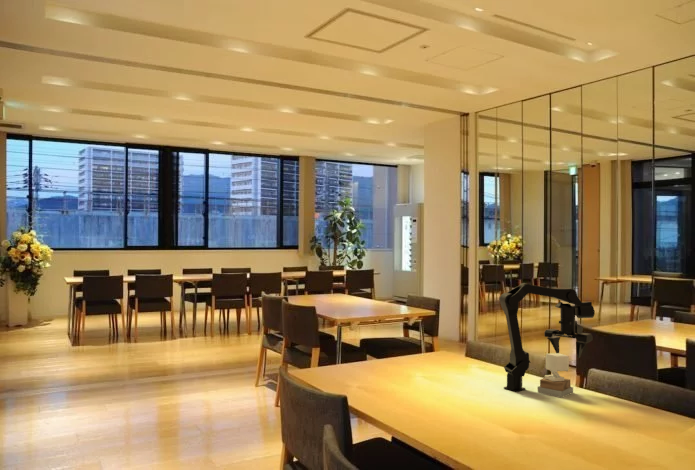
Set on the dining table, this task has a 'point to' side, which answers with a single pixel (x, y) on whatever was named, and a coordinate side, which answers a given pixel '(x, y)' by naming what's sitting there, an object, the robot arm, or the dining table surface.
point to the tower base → (555, 391)
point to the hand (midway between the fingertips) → (568, 356)
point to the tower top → (555, 384)
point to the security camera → (556, 365)
